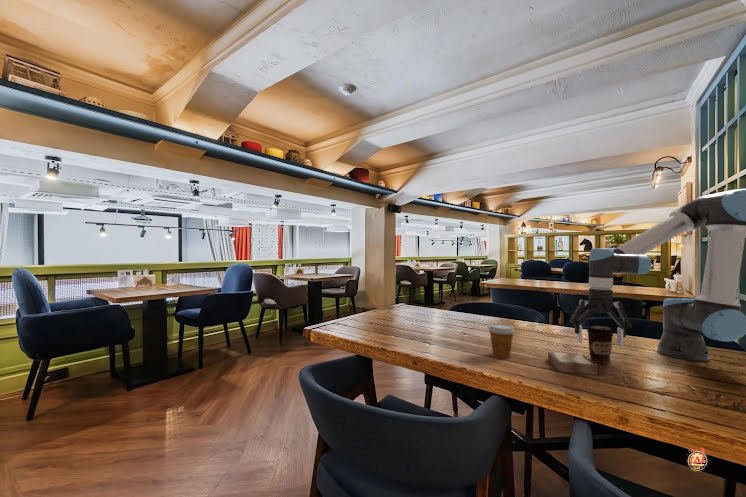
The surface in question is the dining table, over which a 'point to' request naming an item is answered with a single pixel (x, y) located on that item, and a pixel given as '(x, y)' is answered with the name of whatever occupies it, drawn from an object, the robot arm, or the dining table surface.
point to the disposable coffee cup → (501, 340)
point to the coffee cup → (600, 343)
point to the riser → (572, 363)
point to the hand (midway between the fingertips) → (599, 344)
